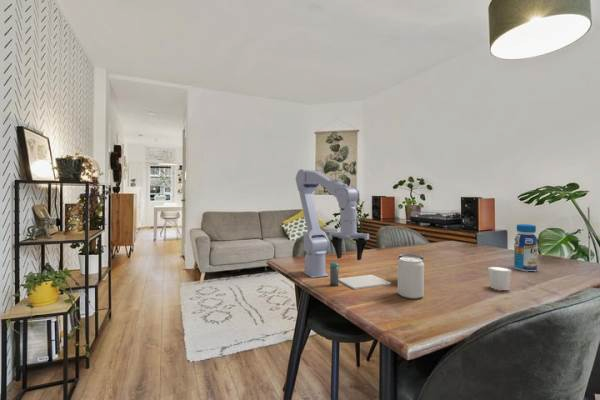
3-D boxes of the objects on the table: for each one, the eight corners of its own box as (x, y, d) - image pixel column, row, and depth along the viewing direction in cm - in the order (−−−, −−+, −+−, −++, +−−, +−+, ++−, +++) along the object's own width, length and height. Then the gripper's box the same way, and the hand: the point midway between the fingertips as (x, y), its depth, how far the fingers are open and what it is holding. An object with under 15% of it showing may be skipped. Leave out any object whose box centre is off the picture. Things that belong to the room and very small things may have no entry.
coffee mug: (425, 285, 108) (425, 258, 108) (400, 284, 110) (400, 257, 109) (419, 277, 119) (419, 252, 119) (396, 276, 121) (396, 251, 121)
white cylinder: (507, 286, 108) (507, 267, 108) (514, 292, 101) (514, 271, 101) (485, 284, 110) (485, 265, 110) (490, 290, 104) (491, 270, 103)
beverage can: (421, 301, 92) (421, 263, 92) (394, 296, 97) (395, 259, 96) (425, 294, 99) (426, 258, 99) (400, 289, 103) (401, 255, 103)
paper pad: (337, 280, 115) (337, 278, 115) (371, 276, 121) (371, 274, 121) (354, 289, 104) (354, 287, 104) (391, 284, 110) (391, 282, 110)
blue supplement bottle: (516, 266, 138) (516, 223, 138) (539, 269, 132) (540, 224, 131) (511, 269, 132) (512, 224, 132) (535, 273, 126) (536, 226, 126)
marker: (328, 284, 109) (328, 262, 109) (335, 283, 111) (336, 262, 110) (332, 286, 107) (332, 264, 106) (340, 285, 108) (340, 263, 108)
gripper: (325, 221, 107) (325, 259, 107) (363, 221, 99) (364, 262, 99) (333, 220, 113) (334, 255, 113) (370, 220, 105) (371, 259, 105)
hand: (349, 258), depth 106 cm, fingers open, 7 cm apart
